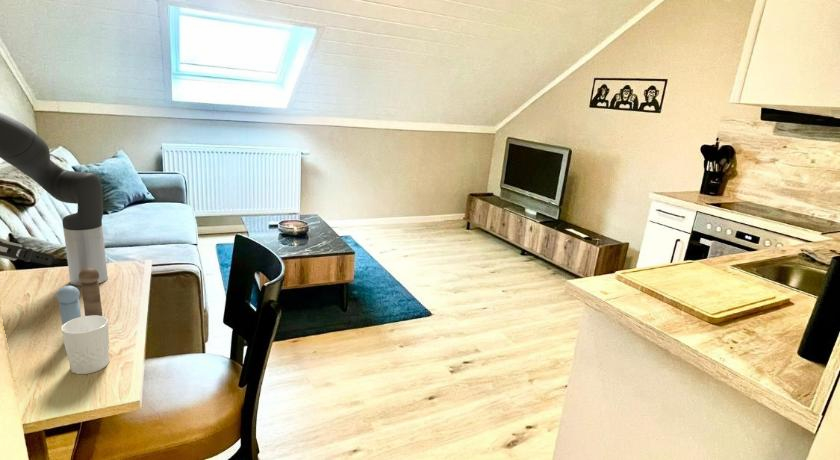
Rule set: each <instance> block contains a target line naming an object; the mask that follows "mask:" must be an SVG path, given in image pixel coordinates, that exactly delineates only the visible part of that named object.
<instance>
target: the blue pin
mask: <svg viewBox="0 0 840 460" xmlns="http://www.w3.org/2000/svg"><path fill="white" fill-rule="evenodd" d="M80 296H81V293H80V290H79V288H77V287H75V285H65V286H62V287H61V288H59V290H58V291H57V292H56V300H57V301H58V303H59V304H58V305H59V311H60V312H59V313H60V318H61V319H60V320H61V327H62V326H63V325H64V324H65V323H66V322H68V321H70V320H73V319H75V318H79V317H82V313H81V304H80Z"/></svg>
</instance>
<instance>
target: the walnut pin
mask: <svg viewBox="0 0 840 460" xmlns="http://www.w3.org/2000/svg"><path fill="white" fill-rule="evenodd" d="M98 279H99V272H98V271H97V270H96V269H94V268H85V269H83V270H82V271H81V272H80V273H79V280H80V281H81V286H80V287H81V294H82V301H83V302H82V304H83V311H84V316H92V315H97V316H103V307H102V300H101V291H100V283H99V281H98Z"/></svg>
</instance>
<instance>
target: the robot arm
mask: <svg viewBox="0 0 840 460" xmlns="http://www.w3.org/2000/svg"><path fill="white" fill-rule="evenodd" d="M0 159H2V160H3V161H5V162H7V163H8V164H9V165H11V166H13V168H15V169H17V170H19V171H20V172H21V173H23V174H24V175H26V176H27V177H29V178H30V179H32V180H33V181H34V182H36V183H37V184H38V185H39V186H40V187H41V188H42V189H43V190H45V192H47V193H48V194H49V195H50V196H51V197H52V198H54V199H55V200H57V201H59V202H62V203H66V204H76V205H77V212H76V213H75V212H74V213H71V214H68V215H66V216H63V218H62V220H61V221H62V230H63V238H64V244H65V252H66V258H67V259H66V260H67V266H68V276H69V282H70V284H71V285H72V286H78V287H79V286H80V287H81V281H80V280H79V273H80V272H81V271H82V270H83V269H85V268H94V269H96V270H97V271H98V272H99V279H98V281H99V284H101V283H104V282H105V281H107V280H108V277H109V276H108V268H107V267H108V266H107V257H106V248H105V239H104V230H103V222H102V221H103V216H104V200H103V199H104V198H103V197H104V195H103V185H102V182H101V179H100V178H99V176H98V175H97V174H95V173H91V172H85V171H75V170H67V169H64V168H62V167H61V166H59V165H58V164H57V163H55V162H53V161H52V160H51V153H50V148H49V145H48V144H47V142H45V140H44V139H43V138H41V136H39V135H38V134H37V133H35V131H33V130H32V129H30V128H29V126H27V125H25V124H24V123H22V122H21V121H19V120H17V119H15V118H13V117H11V116H8V115H7V114H4V113H2V112H0ZM0 259H3V260H10V261H17V260H21V261H23V262H26V263H27V262H31V263H32V262H33V263H37V264H42V265H47V266H51V265H52V264H53V261H54V260H55V256H54V254H49V253H45V252H41V251H37V250H35V249H33V248H30V247H29V248H27V247H23V245H22V244H20V243H16V242H13V241H8V240H6V239H3V238H1V237H0Z"/></svg>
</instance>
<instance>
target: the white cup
mask: <svg viewBox="0 0 840 460" xmlns="http://www.w3.org/2000/svg"><path fill="white" fill-rule="evenodd" d="M60 330H61V335H62V339H63V344H64V349H65V352H66V357H67V360H68V363H69V367H70V371H71V373H74V374H76V375H87V374H92V373H95V372H98V371H101V370H102V369H104V368H105V367H107V366H108V365H109V363H110V351H109V350H110V344H109V343H110V338H109V337H110V336H109V335H110V334H109V319H108V318H107V317H106V316H103V315H102V316H97V315H92V316H85V315H84V316H81V317H79V318H75V319H73V320H70V321H68V322H66V323H65V324H64V325H63V326H62V325H61V327H60Z"/></svg>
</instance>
